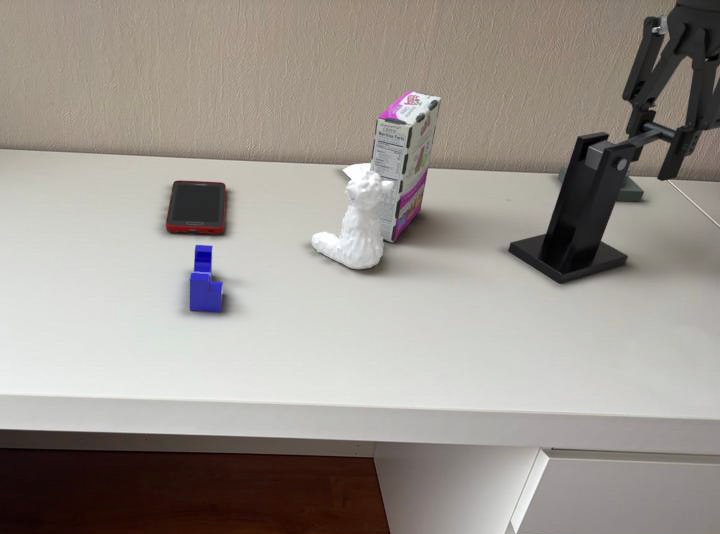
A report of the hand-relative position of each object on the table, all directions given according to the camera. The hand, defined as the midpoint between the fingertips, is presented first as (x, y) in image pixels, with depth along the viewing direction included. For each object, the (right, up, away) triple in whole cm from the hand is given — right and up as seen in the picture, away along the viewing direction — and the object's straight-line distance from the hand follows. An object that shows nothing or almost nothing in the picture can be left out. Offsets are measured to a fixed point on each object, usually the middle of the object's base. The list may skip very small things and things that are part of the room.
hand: (647, 169), depth 96 cm
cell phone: (-58, -4, +9) cm, 59 cm away
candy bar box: (-31, -6, +8) cm, 33 cm away
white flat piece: (-32, +1, +17) cm, 36 cm away
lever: (-4, +1, -4) cm, 6 cm away
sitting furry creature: (-37, -12, 0) cm, 39 cm away
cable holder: (-56, -17, -8) cm, 59 cm away
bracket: (-9, -11, +3) cm, 15 cm away
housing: (+4, +2, +21) cm, 21 cm away
